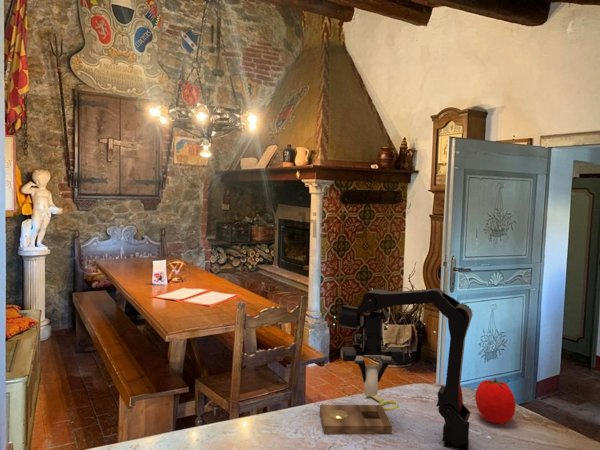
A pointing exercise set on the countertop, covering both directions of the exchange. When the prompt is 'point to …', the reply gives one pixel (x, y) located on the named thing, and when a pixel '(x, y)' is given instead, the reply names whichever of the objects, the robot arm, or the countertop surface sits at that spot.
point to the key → (384, 402)
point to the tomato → (495, 401)
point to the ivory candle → (371, 380)
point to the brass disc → (338, 414)
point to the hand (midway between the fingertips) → (371, 381)
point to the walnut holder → (356, 420)
